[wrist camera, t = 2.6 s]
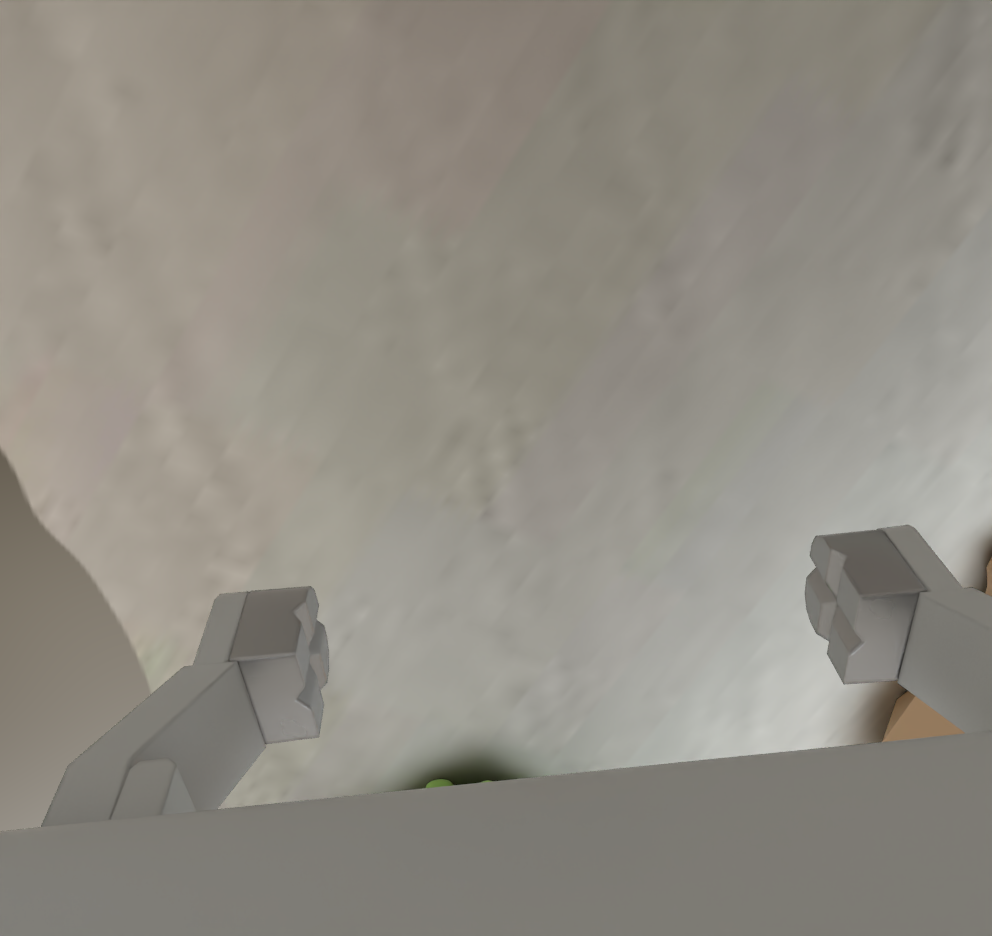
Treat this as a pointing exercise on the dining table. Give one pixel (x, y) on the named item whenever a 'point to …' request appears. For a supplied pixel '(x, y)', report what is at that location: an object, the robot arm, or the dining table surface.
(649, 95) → the dining table surface
